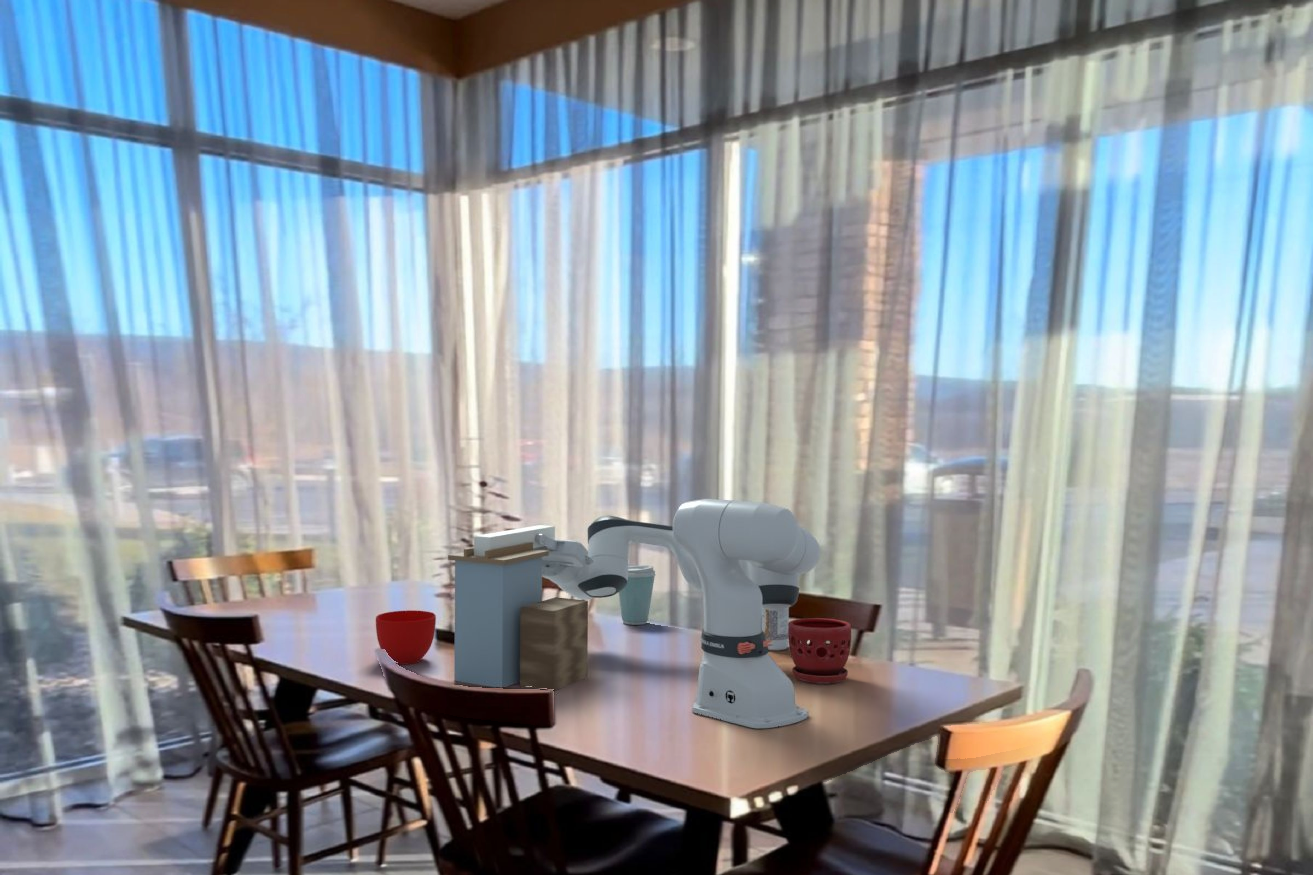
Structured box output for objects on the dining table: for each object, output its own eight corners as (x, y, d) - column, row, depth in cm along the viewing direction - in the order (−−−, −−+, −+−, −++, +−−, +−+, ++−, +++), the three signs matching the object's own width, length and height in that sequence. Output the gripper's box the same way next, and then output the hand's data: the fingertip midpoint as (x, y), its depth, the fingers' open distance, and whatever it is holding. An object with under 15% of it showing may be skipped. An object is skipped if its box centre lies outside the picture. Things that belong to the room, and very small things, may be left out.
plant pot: (863, 679, 213) (864, 622, 213) (824, 690, 205) (825, 631, 204) (813, 667, 223) (814, 613, 223) (774, 677, 214) (775, 621, 214)
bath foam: (754, 645, 244) (755, 562, 244) (780, 643, 246) (781, 561, 246) (765, 651, 237) (766, 566, 237) (792, 649, 239) (794, 565, 239)
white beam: (539, 542, 229) (540, 525, 229) (554, 543, 227) (554, 526, 227) (473, 555, 208) (473, 536, 207) (489, 556, 206) (489, 537, 206)
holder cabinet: (494, 664, 223) (495, 539, 222) (547, 672, 216) (548, 543, 216) (447, 681, 209) (448, 547, 208) (503, 690, 202) (504, 552, 202)
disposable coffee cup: (613, 626, 264) (613, 568, 263) (616, 618, 274) (616, 562, 274) (654, 627, 263) (654, 569, 263) (655, 618, 274) (656, 563, 274)
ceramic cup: (414, 648, 238) (414, 605, 238) (445, 662, 224) (445, 617, 224) (360, 655, 230) (360, 611, 230) (388, 670, 216) (389, 624, 216)
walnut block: (555, 671, 217) (555, 597, 217) (587, 676, 213) (587, 600, 213) (520, 685, 206) (520, 607, 205) (553, 691, 202) (553, 611, 201)
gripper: (593, 577, 226) (564, 552, 215) (517, 570, 235) (485, 546, 224) (600, 551, 228) (572, 525, 217) (524, 545, 238) (494, 520, 227)
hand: (527, 536), depth 221 cm, fingers open, 4 cm apart
